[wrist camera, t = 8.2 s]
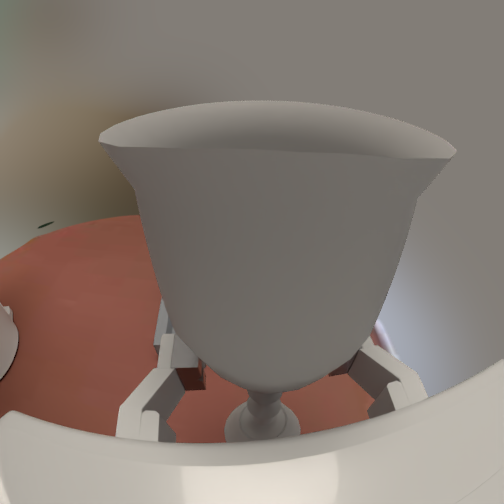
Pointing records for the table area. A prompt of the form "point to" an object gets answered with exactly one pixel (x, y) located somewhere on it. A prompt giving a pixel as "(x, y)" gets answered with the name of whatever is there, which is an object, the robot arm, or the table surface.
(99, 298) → the table surface
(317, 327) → the chalice
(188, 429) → the table surface
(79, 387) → the table surface
